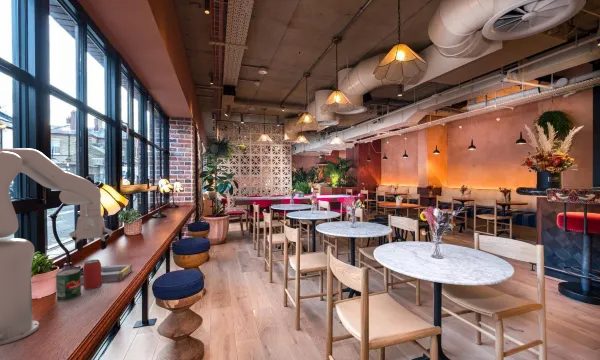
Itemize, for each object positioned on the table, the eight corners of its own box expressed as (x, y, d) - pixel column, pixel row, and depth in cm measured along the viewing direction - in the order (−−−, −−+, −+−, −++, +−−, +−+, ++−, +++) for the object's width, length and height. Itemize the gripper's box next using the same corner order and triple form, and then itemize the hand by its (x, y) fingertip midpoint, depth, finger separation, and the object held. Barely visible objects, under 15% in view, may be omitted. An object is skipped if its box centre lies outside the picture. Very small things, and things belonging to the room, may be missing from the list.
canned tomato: (62, 294, 117) (61, 270, 117) (84, 291, 120) (83, 267, 119) (52, 303, 109) (52, 276, 109) (76, 299, 112) (75, 273, 112)
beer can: (91, 290, 121) (91, 264, 121) (80, 289, 123) (79, 263, 122) (105, 284, 128) (104, 259, 127) (93, 283, 129) (93, 258, 129)
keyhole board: (119, 281, 131) (119, 274, 131) (72, 285, 127) (72, 277, 127) (132, 270, 146) (132, 263, 146) (91, 273, 142) (91, 266, 142)
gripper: (64, 215, 119) (65, 253, 120) (107, 213, 122) (108, 250, 123) (74, 212, 126) (75, 248, 127) (115, 211, 130) (116, 246, 130)
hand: (92, 249), depth 125 cm, fingers open, 9 cm apart
